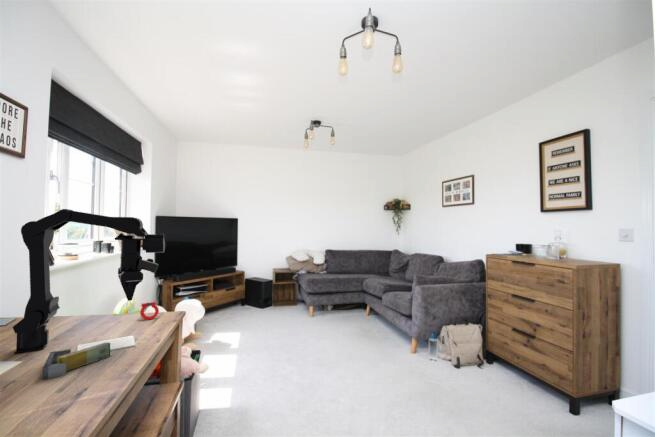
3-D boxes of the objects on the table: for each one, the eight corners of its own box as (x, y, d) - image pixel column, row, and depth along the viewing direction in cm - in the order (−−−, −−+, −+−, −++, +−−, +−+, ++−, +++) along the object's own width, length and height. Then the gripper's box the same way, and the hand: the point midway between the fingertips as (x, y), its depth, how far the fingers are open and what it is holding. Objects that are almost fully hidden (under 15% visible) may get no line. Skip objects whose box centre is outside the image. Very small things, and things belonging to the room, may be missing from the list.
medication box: (105, 355, 89) (105, 341, 90) (111, 356, 88) (111, 342, 88) (56, 372, 78) (56, 356, 79) (61, 373, 77) (61, 357, 78)
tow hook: (141, 320, 120) (139, 303, 123) (136, 328, 126) (134, 312, 129) (159, 317, 124) (157, 300, 127) (154, 325, 130) (152, 309, 133)
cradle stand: (42, 379, 74) (42, 367, 74) (50, 362, 83) (50, 352, 84) (65, 374, 77) (66, 363, 77) (70, 358, 86) (71, 348, 86)
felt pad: (74, 357, 87) (74, 356, 87) (77, 346, 95) (77, 345, 95) (135, 346, 96) (135, 344, 96) (133, 336, 104) (133, 335, 104)
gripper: (161, 254, 101) (159, 300, 100) (153, 250, 116) (151, 290, 115) (121, 255, 94) (119, 304, 94) (118, 251, 109) (116, 293, 108)
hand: (128, 297), depth 103 cm, fingers open, 9 cm apart
